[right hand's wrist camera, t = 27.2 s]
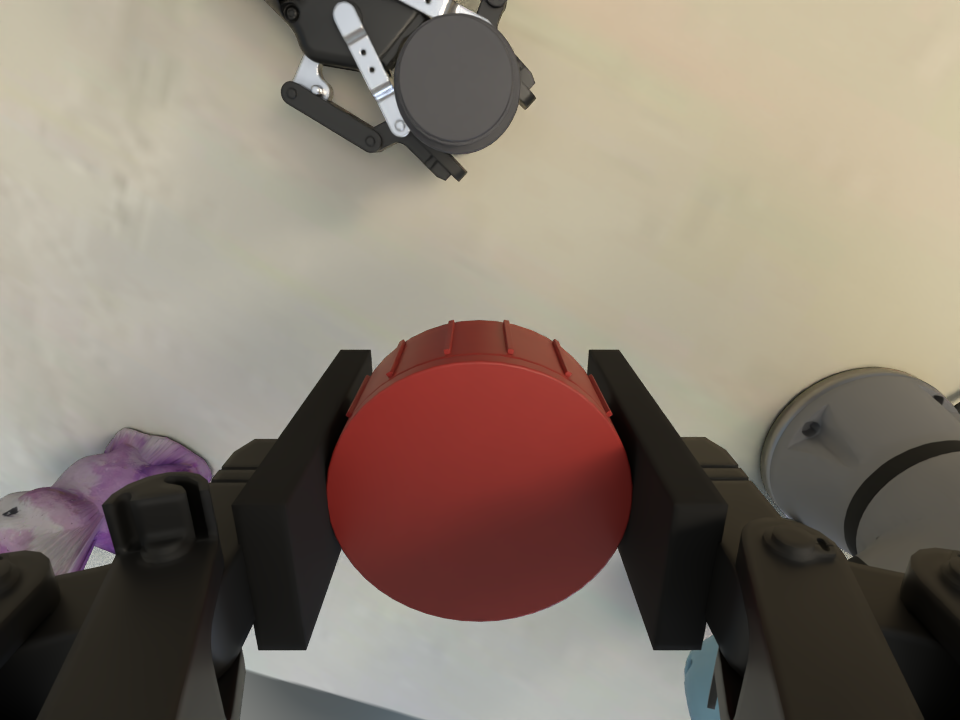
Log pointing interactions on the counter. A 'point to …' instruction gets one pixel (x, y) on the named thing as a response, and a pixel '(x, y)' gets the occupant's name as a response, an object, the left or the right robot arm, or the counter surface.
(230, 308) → the counter surface
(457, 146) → the grey cylinder
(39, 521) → the figurine
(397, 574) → the lid
